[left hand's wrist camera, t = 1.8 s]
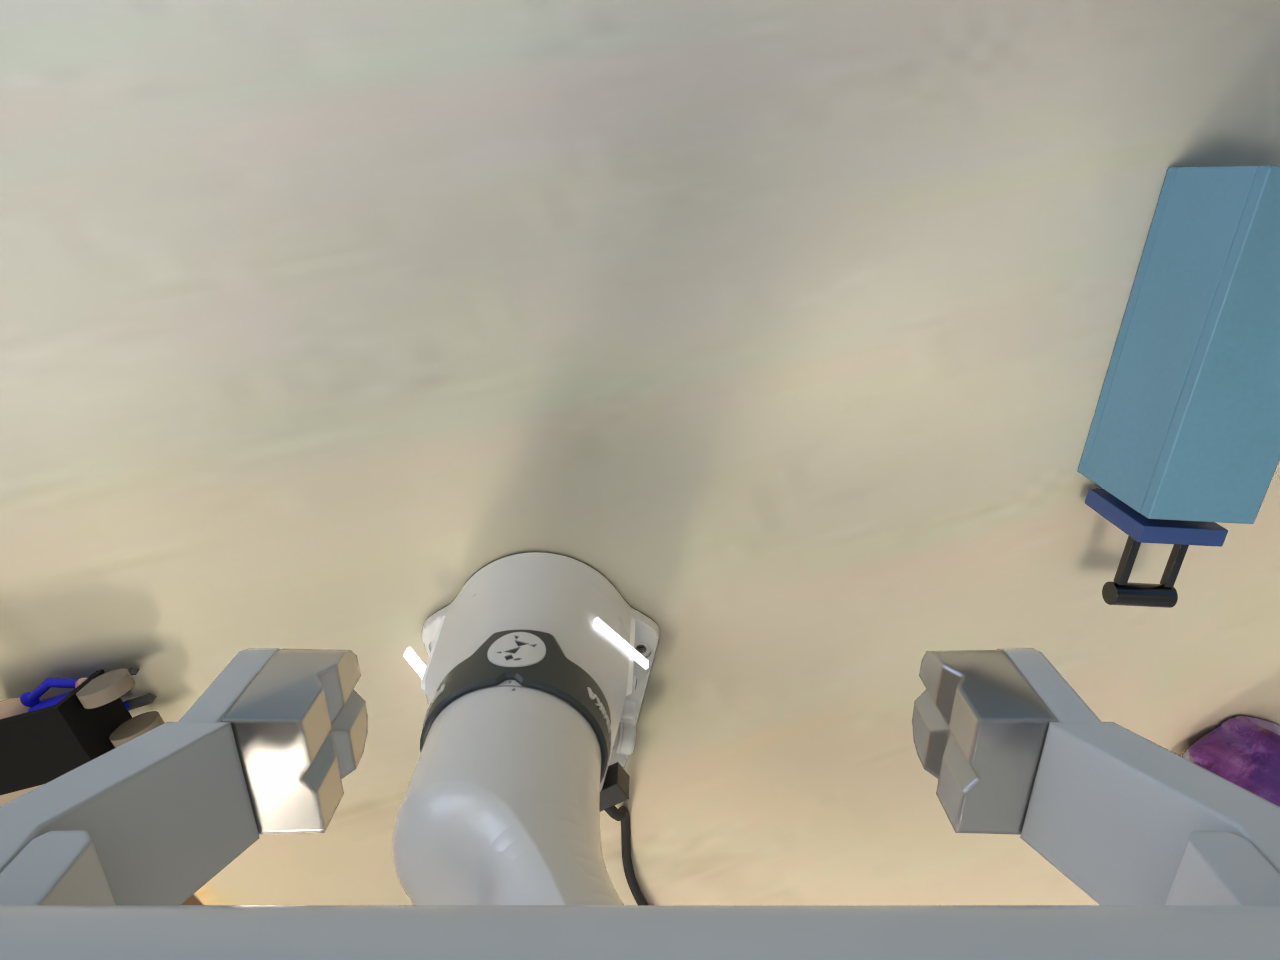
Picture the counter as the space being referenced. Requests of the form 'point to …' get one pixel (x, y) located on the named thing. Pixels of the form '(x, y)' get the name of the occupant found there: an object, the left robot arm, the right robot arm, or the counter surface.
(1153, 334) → the light-blue storage box
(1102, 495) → the drawer
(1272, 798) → the figurine
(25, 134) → the counter surface
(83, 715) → the figurine character
